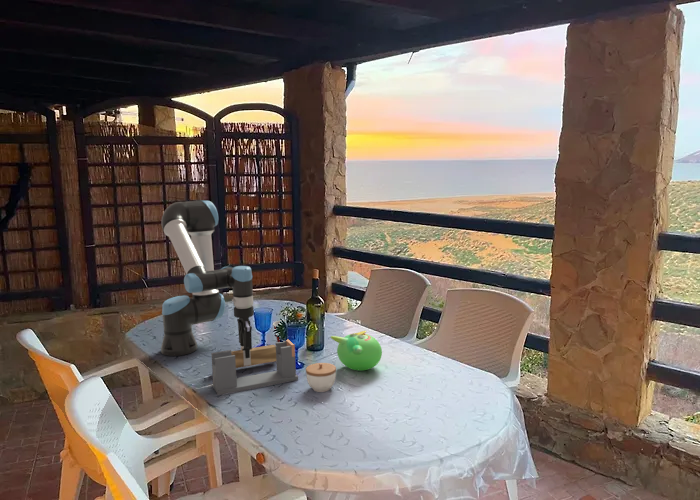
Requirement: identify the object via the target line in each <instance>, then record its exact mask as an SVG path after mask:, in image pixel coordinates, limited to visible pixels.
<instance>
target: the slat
mask: <svg viewBox="0 0 700 500" xmlns="http://www.w3.org/2000/svg"><path fill="white" fill-rule="evenodd" d="M231 354H232V355H235V361H236V369H239V368H244V367H250V366H256V365H263V364H266V363H267V364H268V363H273V362H276V344H269V345H262V346H258V347H252V349H250V354H251V365H247V366H244V360H243V351H242V350H241V349H239V350H238V349H237V350H231Z"/></svg>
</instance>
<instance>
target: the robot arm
mask: <svg viewBox="0 0 700 500" xmlns="http://www.w3.org/2000/svg"><path fill="white" fill-rule="evenodd" d="M218 224H219V213H218V209H217V207H216V205H215V204H214V203H213V202H212V201H210V200H193V201H192V200H191V201H190V200H189V201H177V202H173V203H172V204H170V205H168V206H167V207H166V208H165V210H164V212H163V214H162V217H161V224H160V225H161V228H162V231H163V233H164V235H165V236H167V237H168V238H169V240H170V242H171V243H172V244H171V245H172V247H173V248H174V250H175V253H176V255H177V256H178V259H179V262H180V263H181V265H182V268H183V269H184V272H185V275H184V278H183V284H184V289H185V291H186V292H187V293H189V294H192V297H191V298H190V297H189V295H178V296H177V295H176V296H174V297H170V298H168V299H166V300H164V302H163V303H162V305H161V307H162V308H161V309H162V311H161V315H162V324H163V337H162V338H163V339H162V342H161V347H160V350H161V351H160V352H161V354H162V355H164V356H167V357H168V356H169V357H177V356H184V355H189V354H192V353H194V352H196V351H197V350H198V343H197V340H196V338H195V336H194V333H193V329H192V327H193V325H194V326H195V325H199V324H205V323H209V322H214V321H218V320H221V319H222V317H223V316H224V314H225V311H226V301H225V297H224V295H223V294H222V293H220V290H221V289H226V288H227V289H228V288H231V289H232V298H231V301H232V302H233V306H234V307H233V315H234V318H237V319H236V320H237V321H236V322H237V329H238V343H239V346H240V350H242V351H243V360H244V366H246V367H248V366H247V365H251V354H250V349H252V348H253V347H252V346H253V342H252V339H253V337H252V331H253V330H252V329H253V327H252V325H251V321H250V318H251V317H253V316H254V306H253V305H254V295H253V294H254V293H253V291H254V290H253V289H254V288H253V273H252V268H251V267H250V266H248V265H238V266H234V267H232V266H224V267H222V268H220V269H214V268H215V265H214V255H213V254H214V253H213V240H212V234H213V233H214V232H215V227H217V226H218ZM251 366H252V365H251Z"/></svg>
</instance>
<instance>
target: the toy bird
mask: <svg viewBox="0 0 700 500" xmlns="http://www.w3.org/2000/svg"><path fill="white" fill-rule="evenodd" d="M366 332H367V330H362V331H358V332H354V333H350V334H347V335H345V336H344V337H343V336H342V337H341V336H338V335H337V336H336V335H331V336H330V339H332V340H333V341H334V342H336V343H338V344H337V349H336V354H337V357H338V359H339V361H340V363H342V364H343V365H344V366H345V367H346V368H348V369H350V370H353V371H358V372H359V371H368V370H370V369H373V368H374V367H376V366H377V365H378V363H380V361H381V359H382V356H383V355H382V354H383V351H382V346H381V344H380V342H379V341H378V340H377V339H376V338H375V337H374V336H372V335H370V334H368V333H366Z"/></svg>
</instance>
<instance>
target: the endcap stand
mask: <svg viewBox="0 0 700 500" xmlns="http://www.w3.org/2000/svg"><path fill="white" fill-rule="evenodd" d="M295 345H296V344H295V343H294V344H293V343H292V342H291V341H290V340H289V339H287V340H286V341H283V342H275V346H276V361H275V363H276V370H275V371H269V372H262V373H257V374H252V375H245V376H240V377H237V368H236V361H235V355H232V354H231V351H232V349H228V350H223V351H214V352H211V353H210V355H211V368H212V387H213V389H214V391H215V392H216V394H217V396H223V395H226V394H227V395H228V394H232V393H237V392H238V393H239V392H243V391H248V390H253V389H260V388H263V387H270V386H275V385H280V384H284V383H291V382H295V381H298V380H299V376H298V375H297V368H296V367H297V365H296V363H297V362H296V346H295Z"/></svg>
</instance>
